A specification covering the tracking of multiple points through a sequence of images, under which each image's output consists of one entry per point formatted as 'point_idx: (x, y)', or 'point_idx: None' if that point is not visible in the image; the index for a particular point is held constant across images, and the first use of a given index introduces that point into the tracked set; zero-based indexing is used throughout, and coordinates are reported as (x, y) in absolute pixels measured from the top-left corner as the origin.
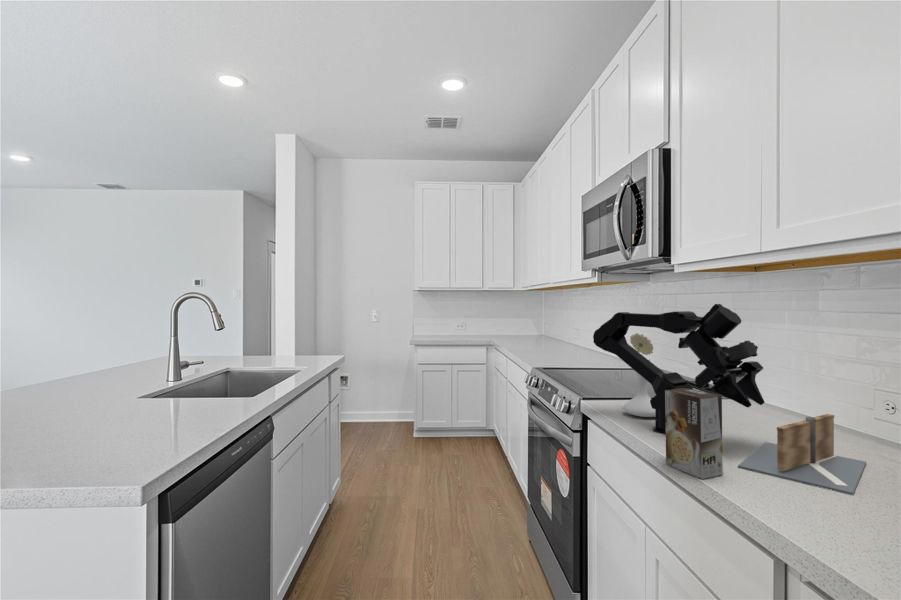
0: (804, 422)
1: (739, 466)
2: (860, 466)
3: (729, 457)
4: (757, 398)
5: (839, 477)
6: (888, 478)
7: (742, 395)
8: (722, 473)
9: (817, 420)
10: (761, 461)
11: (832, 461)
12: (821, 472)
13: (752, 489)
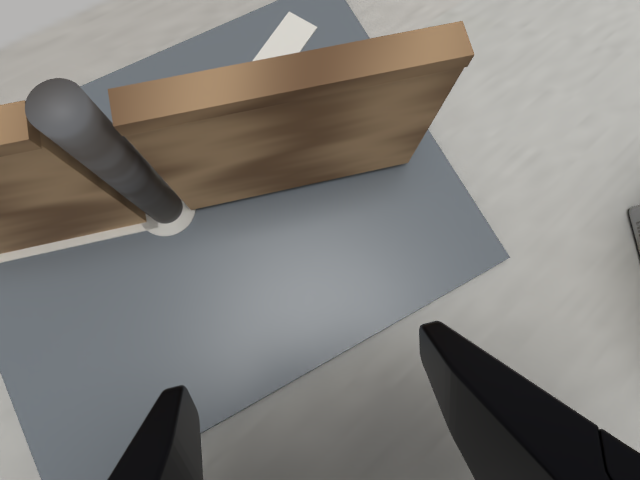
0: (172, 87)
1: (506, 252)
2: None
3: None
4: (185, 465)
5: None
6: (46, 39)
7: (542, 390)
8: (634, 207)
9: (9, 109)
10: (366, 271)
11: None
12: None
13: (611, 90)
